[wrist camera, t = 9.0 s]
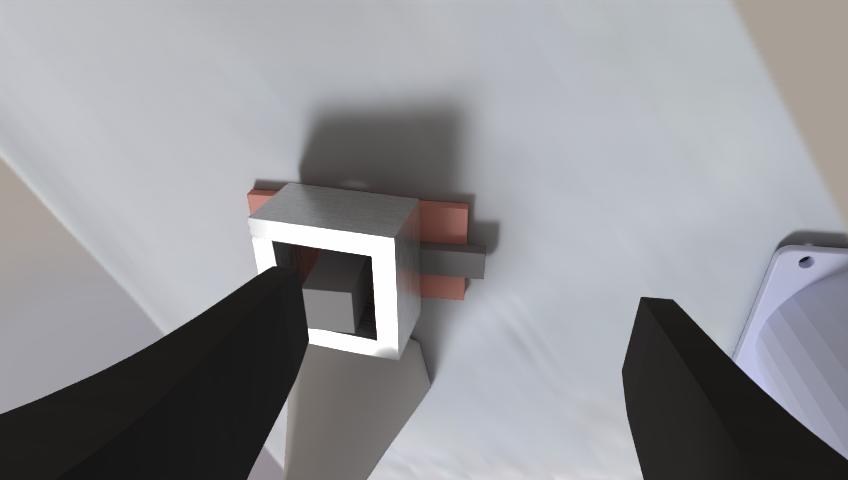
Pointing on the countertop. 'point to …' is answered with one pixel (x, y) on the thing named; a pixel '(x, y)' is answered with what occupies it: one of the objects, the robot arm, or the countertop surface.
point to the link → (356, 233)
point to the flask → (349, 410)
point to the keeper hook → (353, 273)
